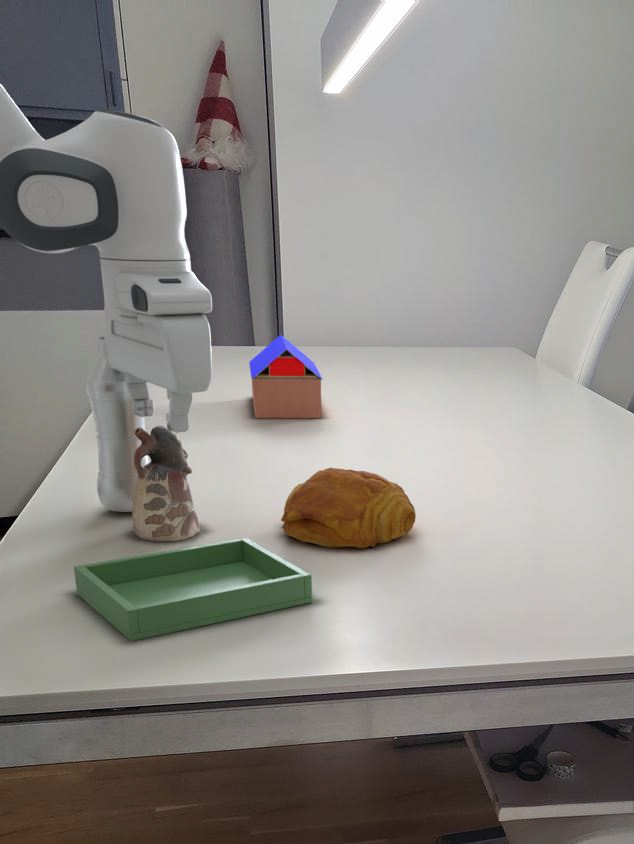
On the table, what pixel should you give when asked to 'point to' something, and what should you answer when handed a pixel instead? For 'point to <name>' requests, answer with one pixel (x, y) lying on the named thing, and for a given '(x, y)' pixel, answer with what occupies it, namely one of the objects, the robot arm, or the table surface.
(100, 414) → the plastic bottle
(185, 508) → the figurine
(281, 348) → the house
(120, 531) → the table surface
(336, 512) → the croissant
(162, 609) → the green tray
